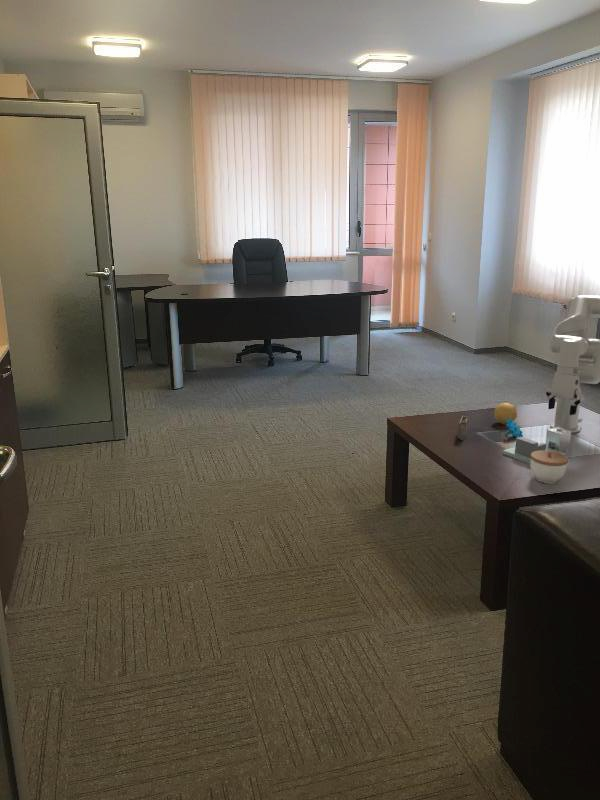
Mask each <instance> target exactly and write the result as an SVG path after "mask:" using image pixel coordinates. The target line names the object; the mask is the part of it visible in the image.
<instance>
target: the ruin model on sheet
mask: <svg viewBox="0 0 600 800" xmlns="http://www.w3.org/2000/svg"><path fill="white" fill-rule="evenodd" d="M469 418H470V417H469V416H468V415H467V416H465V415H462V417H461V419H460V420H459V423H458V430H457V431H458V433H457V440H458V439H460V440H459V441H465V439H464V438H466V436H467V434H468V428H469Z"/></svg>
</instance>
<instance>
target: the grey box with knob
mask: <svg viewBox="0 0 600 800" xmlns="http://www.w3.org/2000/svg"><path fill="white" fill-rule="evenodd" d="M571 437H572V433H571V431H570V430H566V429H563V428H560V427H555V428H551V427H550V428H549V429H547V430H546V438H545V444H546V447H547V448H550V449H553V448H555V450H556V451H559V452H562V453H563V452H566V451H569V450H570V443H571Z"/></svg>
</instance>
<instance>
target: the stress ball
mask: <svg viewBox="0 0 600 800" xmlns="http://www.w3.org/2000/svg"><path fill="white" fill-rule="evenodd" d="M517 415H518V412H517V408H516V406H515V405H514V404H512V403H510V402H502V403H500V404H498V405H497V406H496V407H495V409H494V418H495V420H496V421H497V422H498V423H500V424H501V425H504V426H506V424H507V423H506V421H507V419H510V420H511V419H512V420H513V422H515V421H516V419H517V417H518V416H517Z"/></svg>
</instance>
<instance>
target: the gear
mask: <svg viewBox="0 0 600 800" xmlns="http://www.w3.org/2000/svg"><path fill="white" fill-rule="evenodd" d="M506 423H507V424H506V425H505V427H506V428H507V429H508V431H507V432H506V433H504V436H508V435H510V434H511V436H513V437H514V436H515V439H516V438H519V437H523V438H524V435H523V431H522V430H521V425H517V424H518V423H517V422H516V421H513V420H512V419H511V420H510V419H507V421H506Z"/></svg>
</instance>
